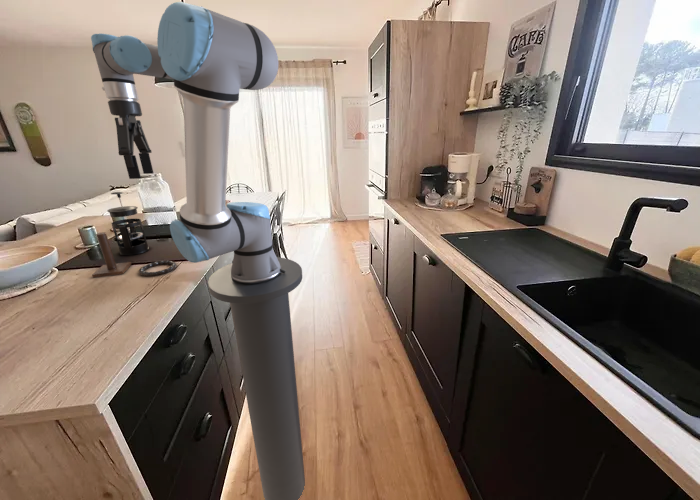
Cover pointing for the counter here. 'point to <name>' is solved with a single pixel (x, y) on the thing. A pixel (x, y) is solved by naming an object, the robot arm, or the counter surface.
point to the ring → (157, 271)
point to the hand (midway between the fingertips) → (142, 176)
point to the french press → (129, 239)
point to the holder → (109, 259)
